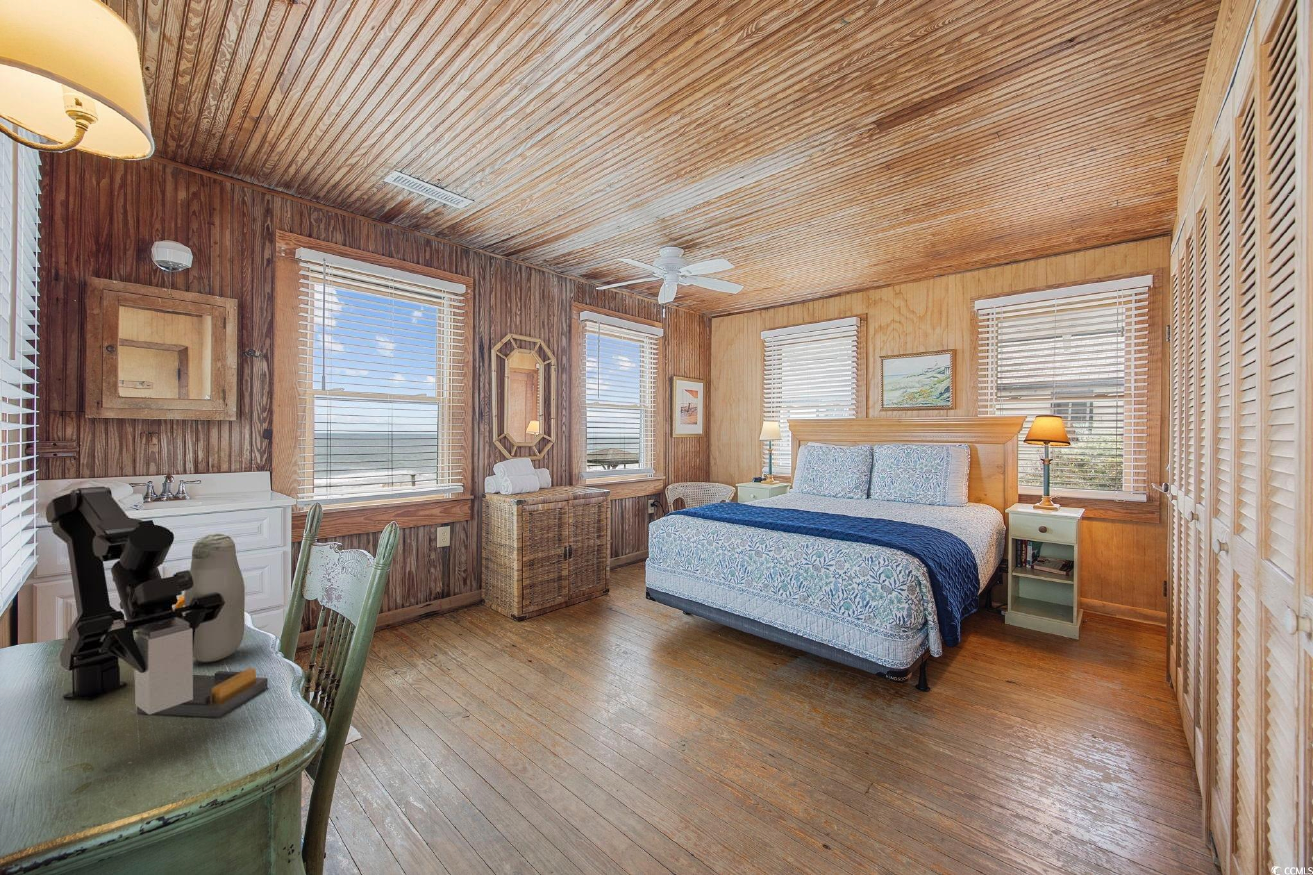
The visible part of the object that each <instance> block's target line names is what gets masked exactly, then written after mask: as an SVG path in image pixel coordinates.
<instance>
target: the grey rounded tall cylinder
mask: <svg viewBox="0 0 1313 875" xmlns="http://www.w3.org/2000/svg"><path fill="white" fill-rule="evenodd" d="M190 562H191V563H190V568H189V571H190V573H191V575H192V578H193V583H194V585H193V587H192V588H190V589H189V590H185V591H184V594H183V595H184V606H183V607H185V606H189V604H190V603H191V601H192V599H193V597H196V596H200V595H205V594H209V593H214V592H217V593H220V594H221V595H222V596H223V598H224V601H225V604H224V606H223V607H222V609H221V611H220V612H219V614H218V616H217V618H215V619H214V620H212V621H208V622H204V623H200V625H199V627H198V628H196V630H195V636H194V646H193V659H194V660H196V661H198V662H203V663H212V662H218V661H220V660H223V659H225V658H227V657H229V656H231V655H233V653H235V652H236V651H237V650H238V648H239V647H240V645H241V644H242V642H243V640H244V635H245V604H246V602H245V600H246V597H245V594H246V593H245V590H246V589H245V588H246V587H245V580H244V577H243V573H242V571H241V569H240V564H239V560H238V557H237V552H236V543H235V542H234V540H233V538H231V536H229V535H227V534H224V533H223V534H222V533H214V534H208V535H205V536H203V537H201V538H199V539H198V540H197V541H196V542H195V543H194V545H193V547H192V550H191V561H190Z"/></svg>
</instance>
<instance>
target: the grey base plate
mask: <svg viewBox="0 0 1313 875" xmlns="http://www.w3.org/2000/svg"><path fill="white" fill-rule="evenodd" d="M256 672H257V671H256V668H246V669H245V670H243V671H229V670H218V671H216V672H215V673H214V675H209V674H208V675H207V674H203V675H202V674H193V700H190V701H187V702H184V703H181V704H178V705H175V706H173V707H170V708H167V709H164V710H161V711H158V712H155V713H153V714H152V715H162V716H165V715H166V716H181V717H182V716H183V717H185V716H186V717H200V718H201V717H202V718H221V717H222V716H224V715H226V714H227V713H229V712H230V711H232V710H234V709H236V708H237V707H240V705H241V706H242V704H243V703H246V702H247V701H249V700H250V699H252V698H253V697H256V696H257V695H258V694H260V693H261V692H264V691H265V690H266V689H268V678H267V677H256V675H257V673H256ZM136 714H141V715H142V714H143V715H144V714H145V715H148V714H147V713H146V712H145V711H143V710H142V709H140V708H139V707H138V706H136Z"/></svg>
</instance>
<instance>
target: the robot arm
mask: <svg viewBox="0 0 1313 875" xmlns="http://www.w3.org/2000/svg"><path fill="white" fill-rule="evenodd" d="M112 494H113V493H112V490H111V488H110V487H109V486H108V487H106V486H104V485H103V486H92V487H91V486H88V487H78V488H76V489H72V490H71V491H70V492H69V493H67V494H63V495H60V496H58V497H55V498H53V499H52V500H50V501H49V503H48V504H47V505H46V507H45V517H46V518H45V519H46V521H47V523H48V524H51V529H52V533H53V534H54V535H55V536H57V537H58V538H60V540H62V542H64V543H65V544H66V547H67V553H68V559H69V566H70V573H71V578H72V579H71V580H72V587H73V593H74V599H75V606H76V617H75V619H74V620H73V622H72V624H71V626H70V627H69V629H68V631H67V638H66V639H65V642H64V644H63V646H62V649H61V652H60V654H59V660H60V666H61V667H62V668H64V669H65V670H67V672H71V678H72V679H71V686H72V691H71V692H68V693H66V694H64V695H63V696H62V699H65V700H67V699H68V700H70V699H71V700H85V701H86V700H87V701H93V700H96V699H98V698H100V697H103V696H105V695H107V694H109V693H111V692H114V691H116V690H118V689H120V688H123V687H124V686H127V685H128V681H122V680H121V669H120V668H121V667H120V665H119V659H120V660H122V661H124V662H125V663H127V664H128V665H129V666H130V667H132V668H133V669H134V670H135V669H136V670H137V671H139V672H140V673H144V672H145V670H146V667H145V663H144V659H143V657H142V655H141V653H140V651H139V648H138V646H137V644H136V642H135V634H134V631H138V626H141V625H145V624H149V623H154V622H158V621H162V620H166V619H170V618H174V617H178V618H180V619H182V620H184V621H186V622H189V627H190V628H192V646H194V636H195V630H196V628H198V627H199V625H200V623H204V622H208V621H212V620H214V619H215V618H217V616H218V614H219V612H220V611H221V609H222V607H223V606H224V604H225V601H224V598H223V596H222V595H221V594H220V593H217V592H214V593H209V594H205V595H200V596H196V597H193V599H192V601H191V603H190V604H189V606H185V607H184V606H183V607H181V608H177V609H174V607H173V606H175V605H176V603H177V601H178V599H179V598H177V597H178V596H181V595H183V592H185V590H189V589H190V588H192V587H193V585H194V583H193V578H192V575H191V573H190V569H187V570H182V571H177V572H175V573H173V575H172V576H168V577H163V578H162V575H161V572H160V570H159V567H160V566H161V565H163V563H164V562H165V560H166V557H167V556H168V553H169V551H170V550H171V547H172V545H173V543H174V540H175V535H174V533H173V531H171V530H170V529H168V528H167V527H166V526H162V525H158V524H155V523H154V520H153V519H149V520H142V519H138V518H133V517H132V518H131V517H130V516H128V515H127V514H126V512H125V511H124V509H122V507H121V506H120V505H119V503H118V502H117V501H116V500H115V497H113V495H112ZM116 560H117V561H116ZM111 561H116V562H115V563H114V564H113V565H112V566H111V569H110V573H111V575H112V582H114V584H115V588H116V591H117V595H118V597H119V599H120V602H119V607H120V610H117V609H115V608H114V607H112V605H111V604H110V597H109V591H108V583H107V579H106V571H105V566H104V565H105V564H104V562H105V563H106V562H111ZM122 610H123V612H122ZM125 618H126V619H125Z"/></svg>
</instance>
